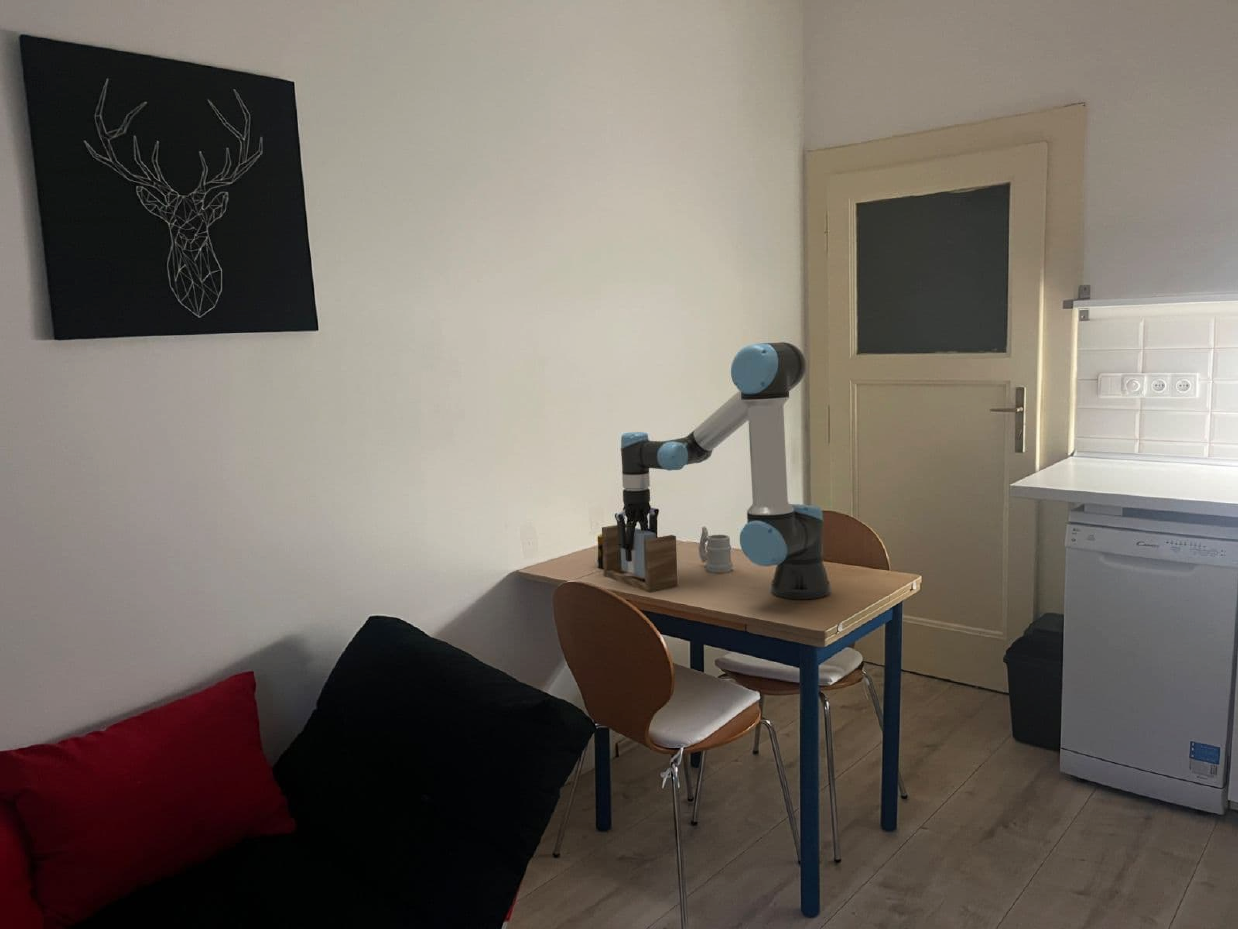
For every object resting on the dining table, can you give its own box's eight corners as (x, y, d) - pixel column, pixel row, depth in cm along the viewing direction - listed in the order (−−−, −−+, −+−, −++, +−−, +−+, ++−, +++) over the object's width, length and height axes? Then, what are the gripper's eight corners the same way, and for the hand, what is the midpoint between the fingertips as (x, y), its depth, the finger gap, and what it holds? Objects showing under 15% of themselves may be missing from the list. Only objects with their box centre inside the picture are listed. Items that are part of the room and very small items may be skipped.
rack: (677, 586, 250) (675, 536, 248) (649, 592, 245) (648, 540, 243) (630, 570, 270) (628, 523, 268) (603, 575, 265) (601, 527, 264)
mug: (719, 575, 261) (718, 533, 259) (690, 568, 270) (689, 527, 268) (738, 570, 265) (737, 529, 264) (709, 563, 274) (708, 523, 273)
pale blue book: (656, 576, 253) (655, 533, 252) (644, 578, 251) (643, 535, 250) (633, 568, 263) (631, 526, 262) (621, 570, 261) (620, 528, 260)
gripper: (654, 483, 262) (656, 563, 265) (602, 490, 253) (606, 573, 256) (669, 486, 255) (671, 568, 258) (617, 493, 247) (620, 578, 250)
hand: (639, 570), depth 257 cm, fingers closed on pale blue book, 4 cm apart
